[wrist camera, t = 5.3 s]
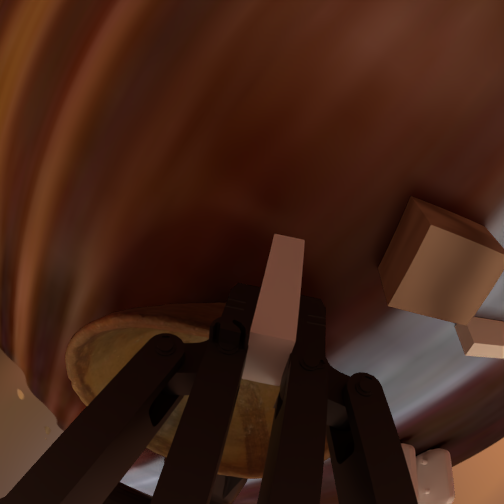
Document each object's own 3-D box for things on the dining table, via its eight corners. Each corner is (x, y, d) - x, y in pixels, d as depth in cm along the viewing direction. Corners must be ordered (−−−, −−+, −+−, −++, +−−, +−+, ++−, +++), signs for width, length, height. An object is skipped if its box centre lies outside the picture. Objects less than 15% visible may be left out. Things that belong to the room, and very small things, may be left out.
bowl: (77, 288, 30) (22, 355, 21) (269, 177, 20) (235, 261, 12) (200, 411, 38) (178, 477, 29) (377, 374, 28) (384, 464, 20)
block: (377, 266, 23) (387, 306, 19) (410, 194, 19) (430, 224, 16) (449, 288, 22) (466, 325, 19) (484, 225, 19) (510, 257, 15)
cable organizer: (411, 432, 34) (417, 507, 24) (450, 442, 36) (457, 506, 26) (340, 466, 42) (336, 528, 32) (383, 474, 43) (382, 529, 34)
